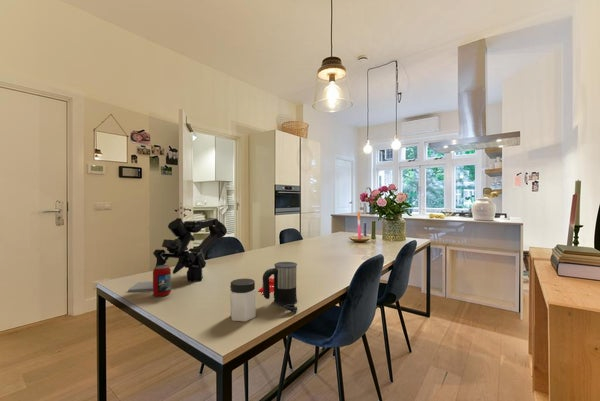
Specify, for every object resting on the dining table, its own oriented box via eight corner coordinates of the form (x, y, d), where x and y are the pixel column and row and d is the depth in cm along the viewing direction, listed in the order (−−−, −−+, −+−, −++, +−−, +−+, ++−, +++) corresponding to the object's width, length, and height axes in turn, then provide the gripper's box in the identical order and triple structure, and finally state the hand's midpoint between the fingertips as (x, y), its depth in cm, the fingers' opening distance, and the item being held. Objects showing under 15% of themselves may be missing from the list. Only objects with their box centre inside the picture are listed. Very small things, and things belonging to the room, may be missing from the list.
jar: (245, 309, 103) (245, 276, 103) (260, 315, 98) (260, 280, 98) (224, 317, 97) (224, 282, 96) (239, 324, 91) (239, 287, 91)
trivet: (162, 282, 136) (162, 280, 136) (155, 290, 125) (155, 288, 125) (138, 284, 134) (137, 282, 134) (128, 292, 123) (128, 289, 123)
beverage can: (163, 298, 116) (163, 268, 115) (149, 296, 117) (149, 268, 117) (174, 292, 122) (174, 264, 122) (160, 291, 124) (160, 264, 123)
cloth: (273, 299, 116) (273, 293, 116) (243, 295, 120) (243, 289, 120) (295, 281, 140) (295, 276, 140) (270, 278, 145) (270, 274, 145)
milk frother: (286, 295, 118) (286, 260, 117) (314, 306, 106) (314, 266, 106) (258, 305, 108) (258, 266, 107) (286, 317, 96) (286, 274, 96)
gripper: (156, 231, 129) (135, 260, 118) (190, 232, 123) (172, 263, 113) (168, 246, 136) (150, 274, 126) (202, 247, 131) (186, 278, 120)
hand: (164, 272), depth 121 cm, fingers open, 9 cm apart
